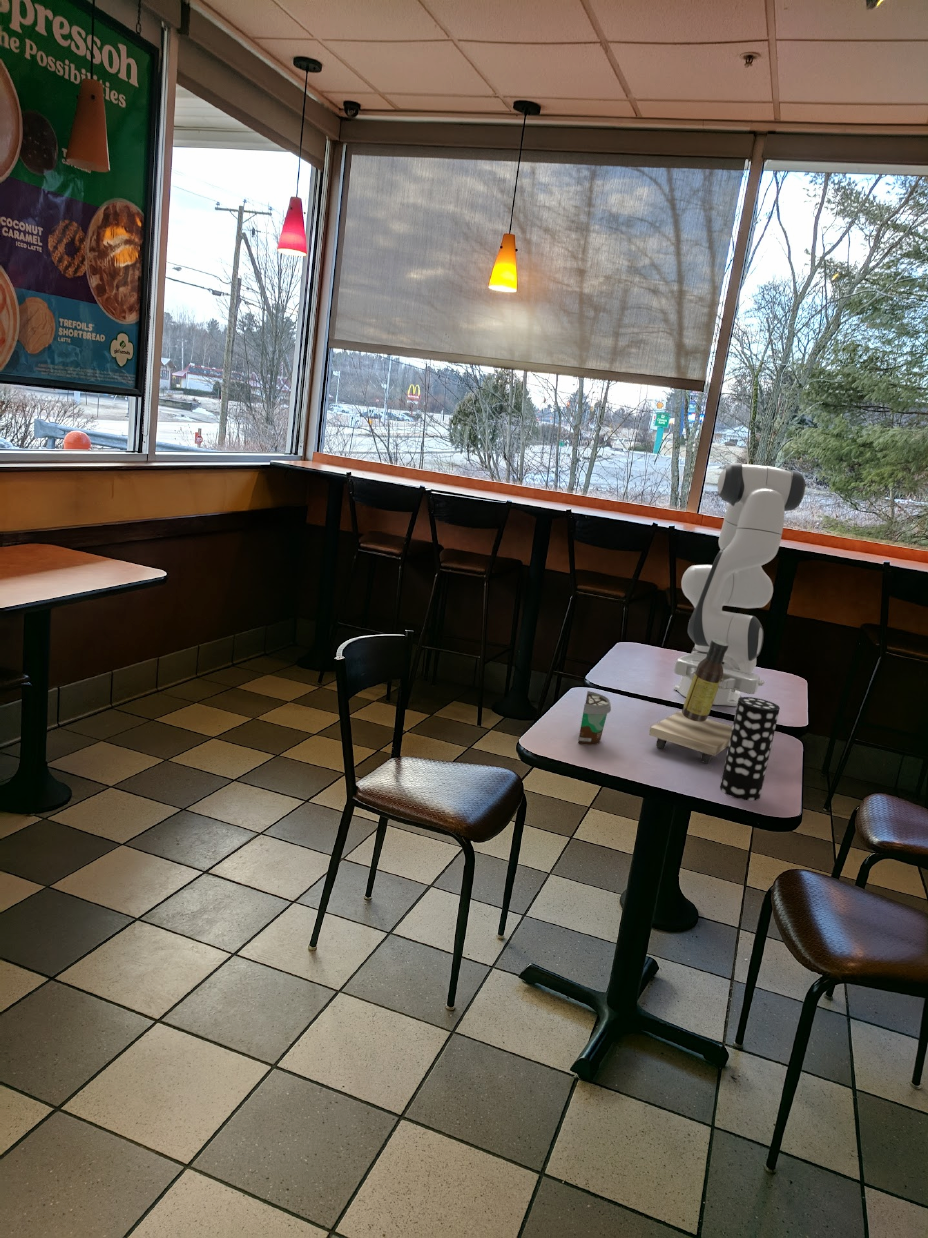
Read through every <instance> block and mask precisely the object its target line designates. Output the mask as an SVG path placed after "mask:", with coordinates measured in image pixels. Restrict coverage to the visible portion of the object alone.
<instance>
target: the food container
mask: <svg viewBox="0 0 928 1238" xmlns="http://www.w3.org/2000/svg"><path fill="white" fill-rule="evenodd" d="M585 698H586V699H585V703H584V704H583V705H584V707H583V711H582V712H583V713H582V717H581V722H580V723H581V724H580V730H579V735H578V741H577V744H578V743H579V744H578V745H585V746H588V745H589V746H590V745H597V743H598V744H600V742H601V739H602V736H603V732H604V728H605V723H606V719H607V716H608V713H609V714H610V713H611V711H612V709H611V708H612V707H611V704H612V703H611V700H610V698H608V697H606V695H603V694H601V693H598V692H594V691H590V690H587V692H586V697H585Z"/></svg>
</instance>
